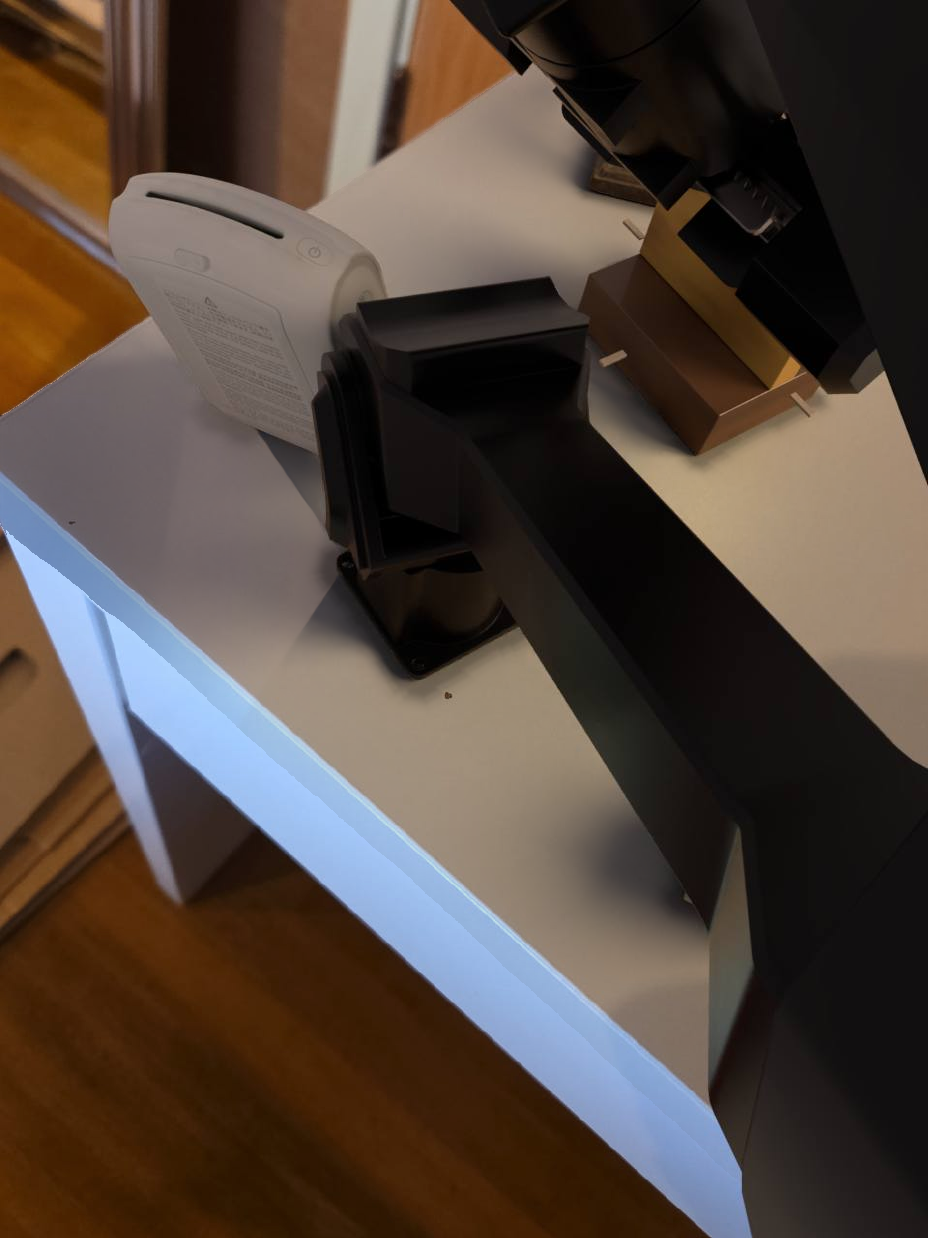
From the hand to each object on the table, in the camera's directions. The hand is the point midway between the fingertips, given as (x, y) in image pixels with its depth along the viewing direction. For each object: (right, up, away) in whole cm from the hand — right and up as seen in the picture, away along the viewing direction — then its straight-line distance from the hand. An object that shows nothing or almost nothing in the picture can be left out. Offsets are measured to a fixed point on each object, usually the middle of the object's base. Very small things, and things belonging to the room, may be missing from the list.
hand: (766, 206), depth 35 cm
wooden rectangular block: (+1, 0, +12) cm, 12 cm away
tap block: (+1, -1, +15) cm, 15 cm away
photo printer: (-18, -6, +9) cm, 20 cm away
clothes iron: (+1, +13, +23) cm, 27 cm away
